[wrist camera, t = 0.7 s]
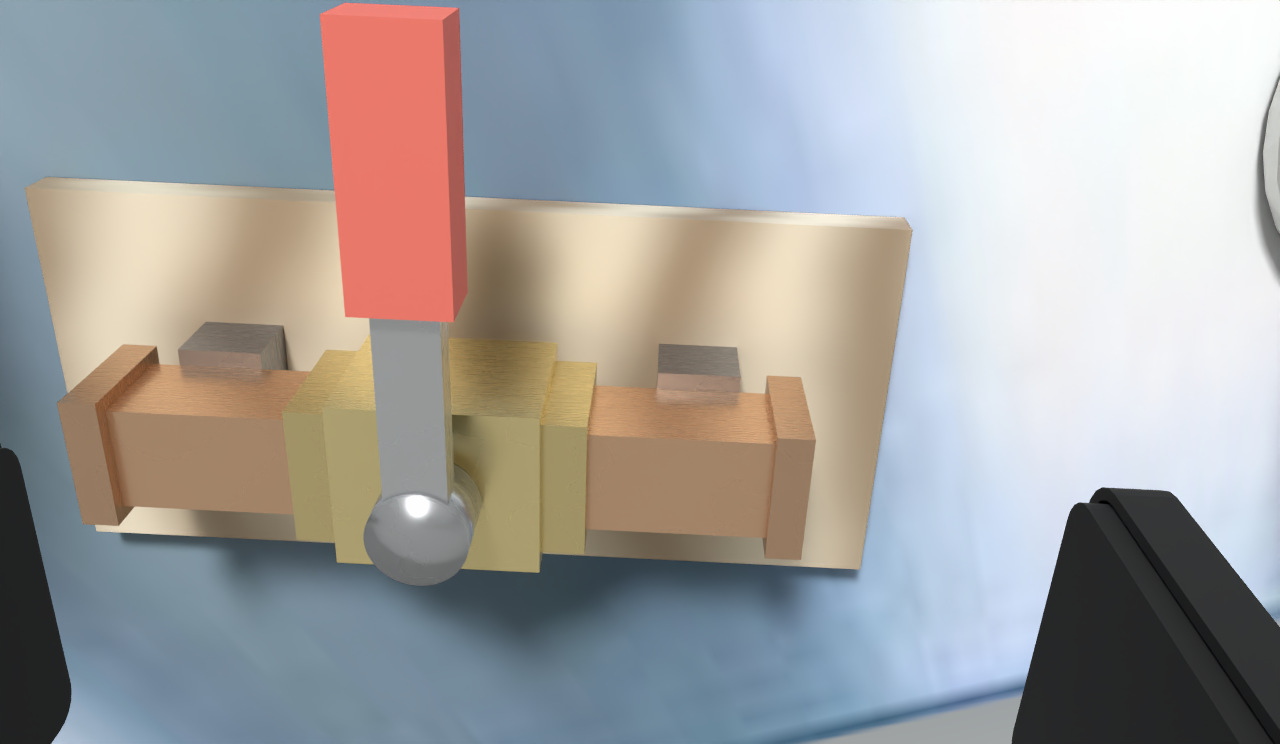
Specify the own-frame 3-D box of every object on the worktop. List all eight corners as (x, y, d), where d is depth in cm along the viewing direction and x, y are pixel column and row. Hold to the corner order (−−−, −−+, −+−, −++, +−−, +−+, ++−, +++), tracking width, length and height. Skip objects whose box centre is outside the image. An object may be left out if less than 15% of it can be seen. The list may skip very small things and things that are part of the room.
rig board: (904, 217, 33) (912, 230, 32) (854, 549, 38) (860, 569, 37) (45, 177, 33) (24, 188, 32) (113, 512, 38) (96, 531, 37)
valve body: (796, 338, 33) (820, 432, 28) (781, 473, 35) (800, 585, 30) (145, 306, 33) (43, 394, 28) (168, 443, 35) (77, 549, 30)
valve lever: (482, 543, 29) (467, 595, 27) (385, 538, 29) (363, 590, 27) (467, 5, 23) (448, 20, 21) (346, 0, 23) (314, 14, 21)
